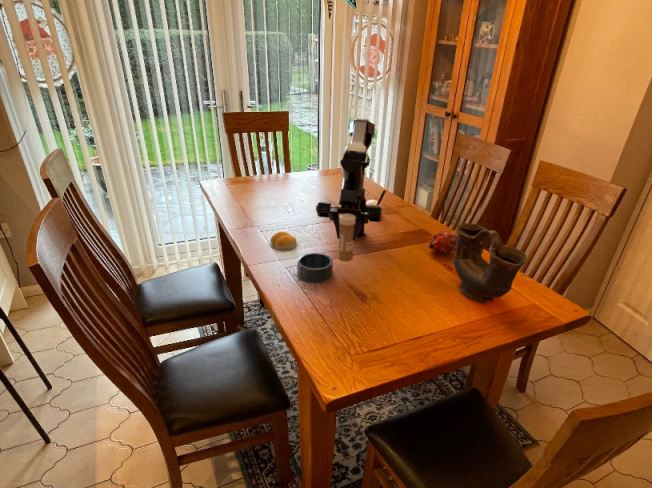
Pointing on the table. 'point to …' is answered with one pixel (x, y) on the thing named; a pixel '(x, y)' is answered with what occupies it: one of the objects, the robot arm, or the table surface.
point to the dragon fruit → (443, 243)
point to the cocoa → (376, 203)
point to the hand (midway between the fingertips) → (345, 239)
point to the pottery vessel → (485, 263)
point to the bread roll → (283, 240)
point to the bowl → (315, 267)
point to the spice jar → (346, 237)
